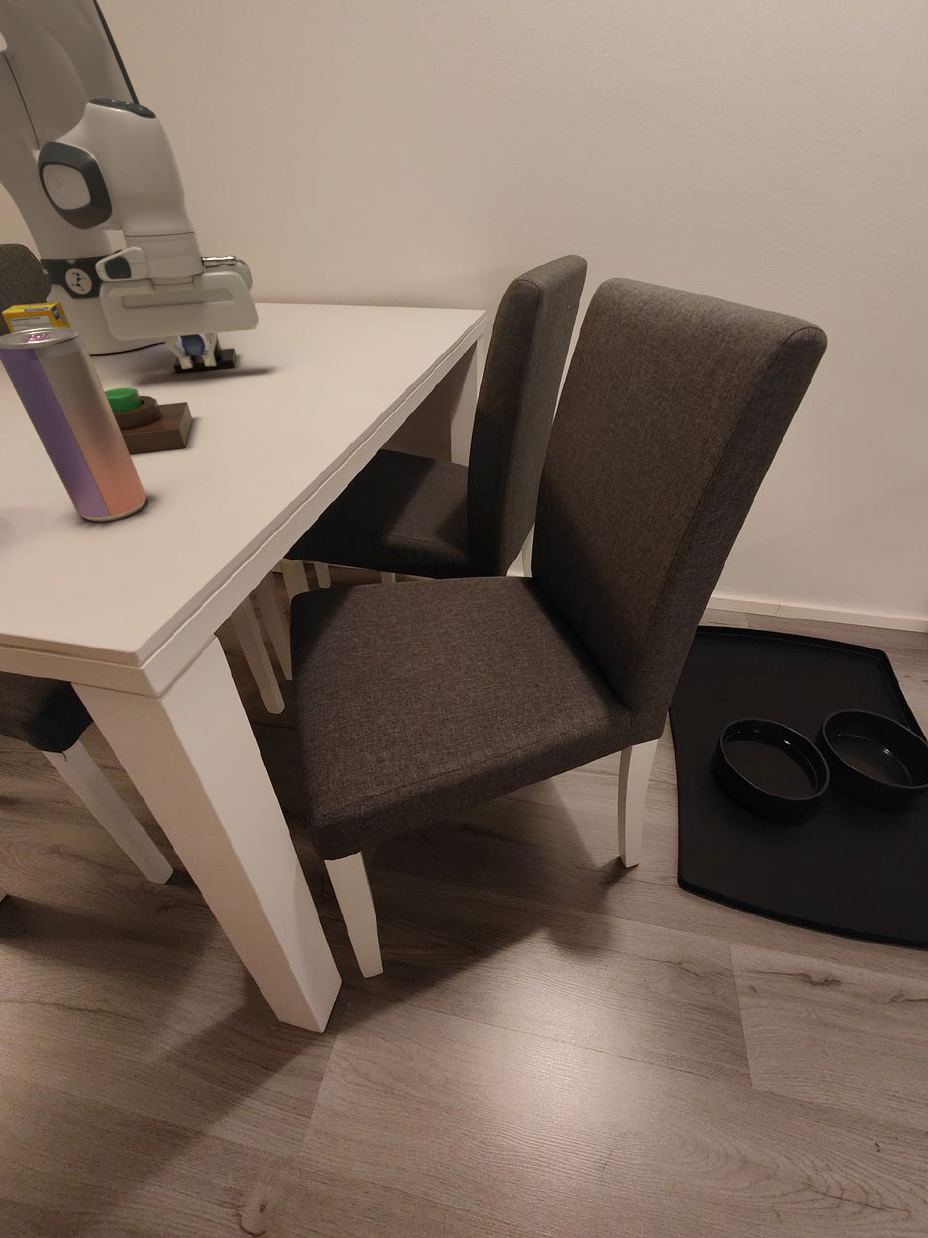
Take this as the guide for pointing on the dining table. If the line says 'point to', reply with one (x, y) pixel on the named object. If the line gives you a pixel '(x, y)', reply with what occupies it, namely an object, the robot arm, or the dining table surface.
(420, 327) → the dining table surface
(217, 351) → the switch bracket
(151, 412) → the button block
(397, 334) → the dining table surface
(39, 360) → the beverage can
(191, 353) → the switch lever
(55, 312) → the supplement box
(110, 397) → the light button
